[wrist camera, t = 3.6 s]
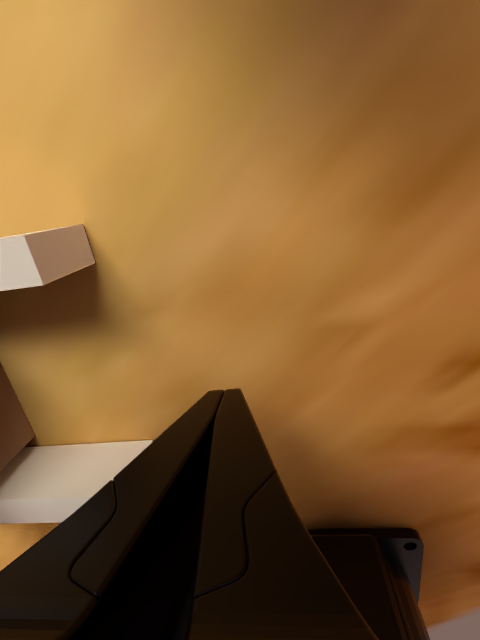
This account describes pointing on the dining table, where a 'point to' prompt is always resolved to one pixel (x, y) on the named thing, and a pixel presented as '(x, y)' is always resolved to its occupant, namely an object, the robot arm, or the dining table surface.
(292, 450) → the dining table surface
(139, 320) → the dining table surface
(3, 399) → the walnut block
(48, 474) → the chute
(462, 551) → the dining table surface
